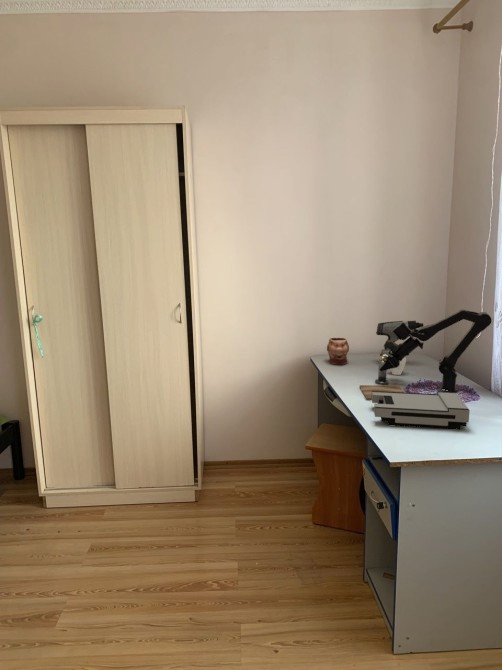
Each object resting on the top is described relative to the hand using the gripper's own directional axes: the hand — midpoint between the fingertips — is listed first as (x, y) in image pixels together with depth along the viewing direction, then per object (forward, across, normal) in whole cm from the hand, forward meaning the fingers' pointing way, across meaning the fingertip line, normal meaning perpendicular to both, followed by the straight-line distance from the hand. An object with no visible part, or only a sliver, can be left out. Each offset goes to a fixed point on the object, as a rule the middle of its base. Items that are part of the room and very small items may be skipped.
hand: (381, 368), depth 221 cm
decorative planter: (+25, -33, -14) cm, 43 cm away
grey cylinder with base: (+5, 0, +6) cm, 7 cm away
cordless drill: (+2, -39, +9) cm, 40 cm away
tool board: (+3, +17, +7) cm, 19 cm away
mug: (+2, -19, +8) cm, 21 cm away
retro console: (-7, +43, +18) cm, 47 cm away
